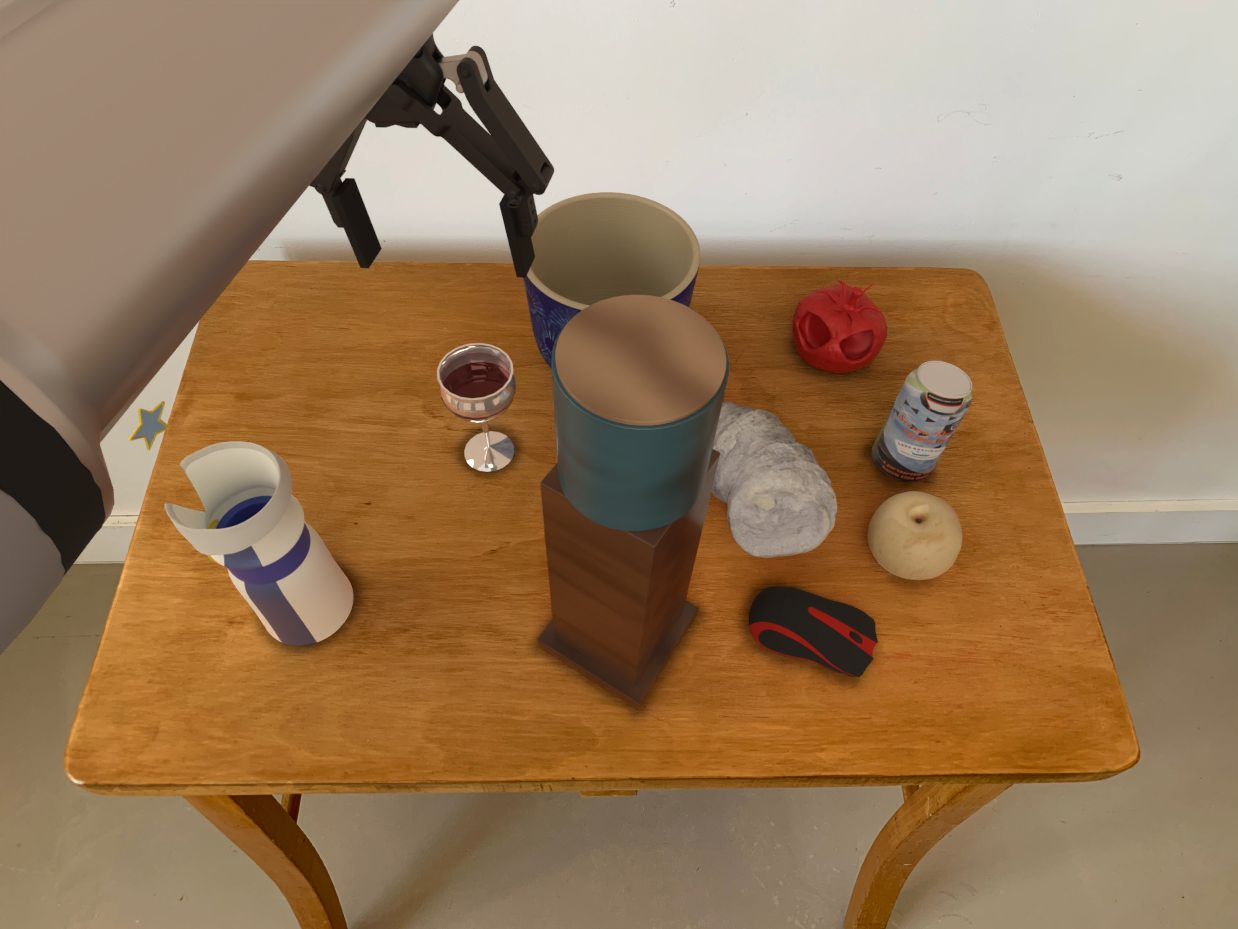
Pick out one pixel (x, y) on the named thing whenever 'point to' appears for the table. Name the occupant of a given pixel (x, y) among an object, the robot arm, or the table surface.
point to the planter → (605, 258)
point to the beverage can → (922, 421)
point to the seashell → (770, 485)
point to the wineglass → (479, 399)
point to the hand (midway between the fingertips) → (447, 262)
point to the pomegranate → (838, 328)
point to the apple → (915, 535)
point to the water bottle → (259, 536)
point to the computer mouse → (813, 629)
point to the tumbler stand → (629, 485)
